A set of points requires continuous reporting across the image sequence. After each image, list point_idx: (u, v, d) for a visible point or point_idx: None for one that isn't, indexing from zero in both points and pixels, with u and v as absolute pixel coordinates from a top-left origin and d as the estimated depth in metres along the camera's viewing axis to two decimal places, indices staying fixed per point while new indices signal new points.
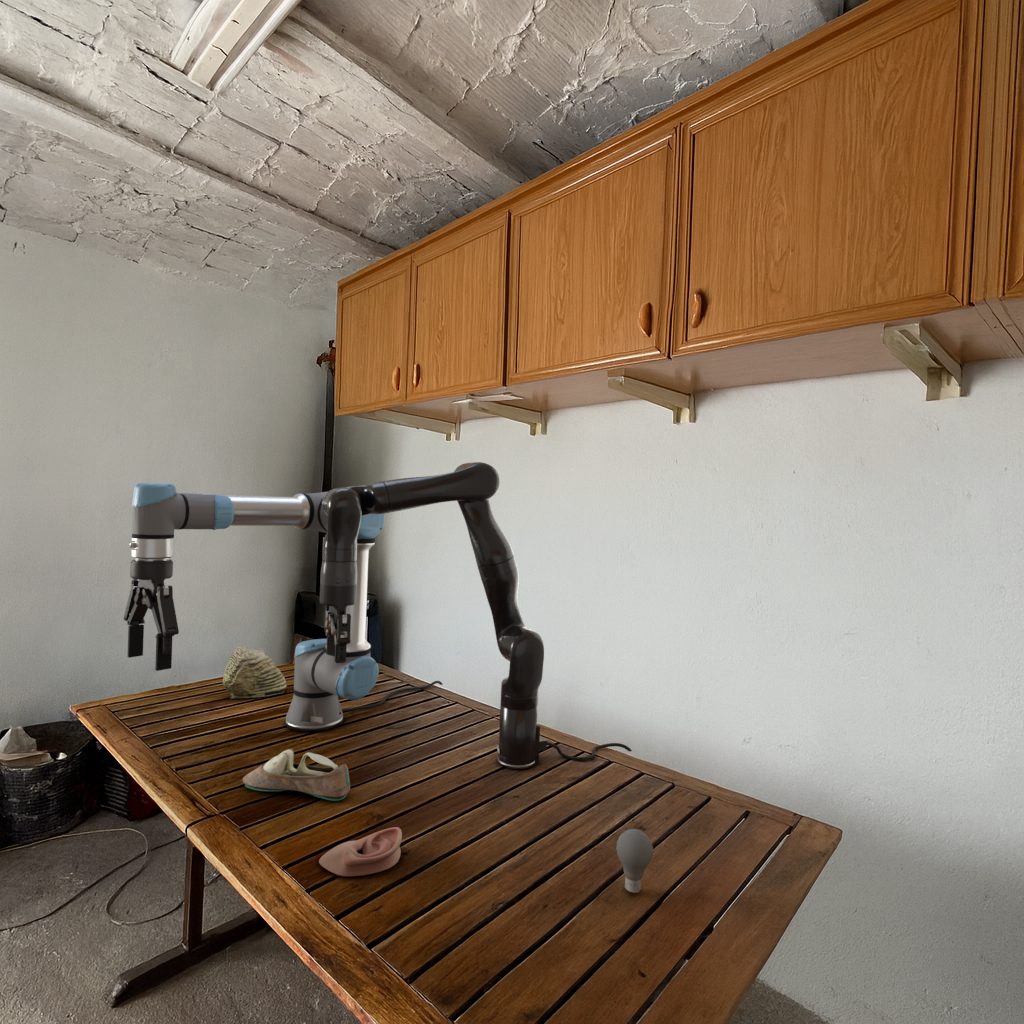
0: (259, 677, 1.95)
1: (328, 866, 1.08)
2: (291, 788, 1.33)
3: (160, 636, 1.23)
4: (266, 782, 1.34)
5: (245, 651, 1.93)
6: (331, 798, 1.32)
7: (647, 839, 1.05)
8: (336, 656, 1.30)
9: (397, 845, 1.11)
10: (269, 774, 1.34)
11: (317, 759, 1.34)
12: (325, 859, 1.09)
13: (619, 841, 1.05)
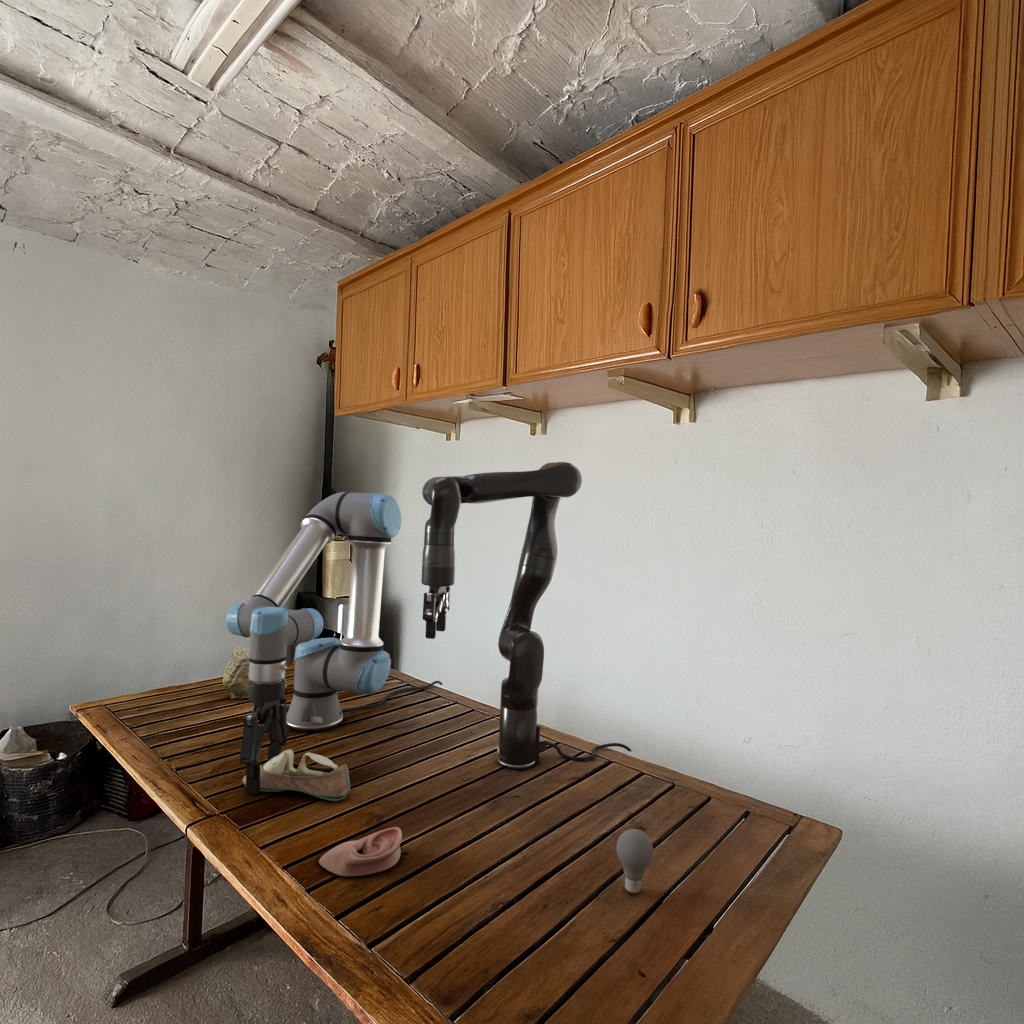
0: None
1: (328, 866, 1.08)
2: (291, 788, 1.33)
3: None
4: (266, 782, 1.33)
5: (245, 651, 1.93)
6: (331, 798, 1.32)
7: (647, 839, 1.05)
8: (426, 631, 1.41)
9: (397, 845, 1.11)
10: (269, 774, 1.34)
11: (317, 759, 1.34)
12: (325, 859, 1.09)
13: (619, 841, 1.05)
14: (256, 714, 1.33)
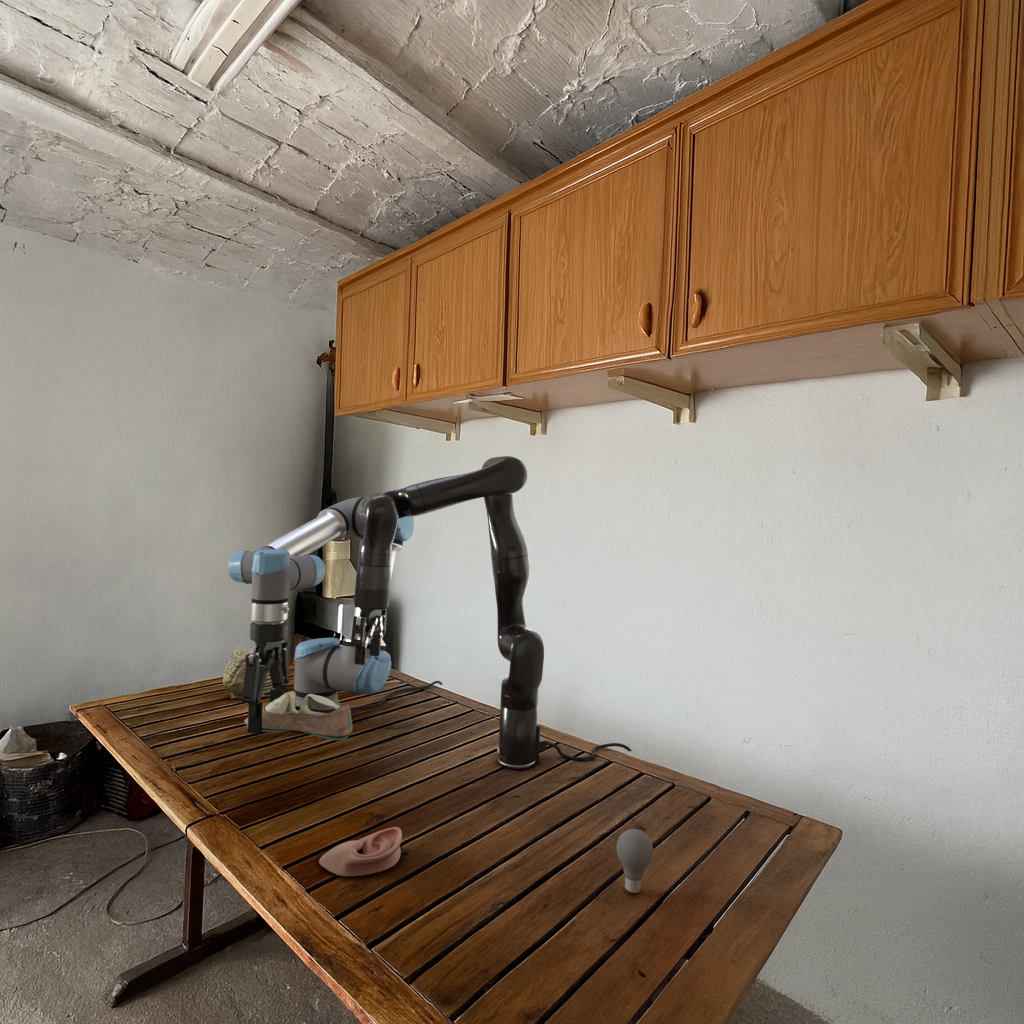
0: None
1: (328, 866, 1.08)
2: (293, 728, 1.33)
3: None
4: (268, 722, 1.33)
5: (245, 651, 1.93)
6: (333, 737, 1.31)
7: (647, 839, 1.05)
8: None
9: (397, 845, 1.11)
10: (271, 714, 1.33)
11: (319, 700, 1.34)
12: (325, 859, 1.09)
13: (619, 841, 1.05)
14: (258, 654, 1.33)
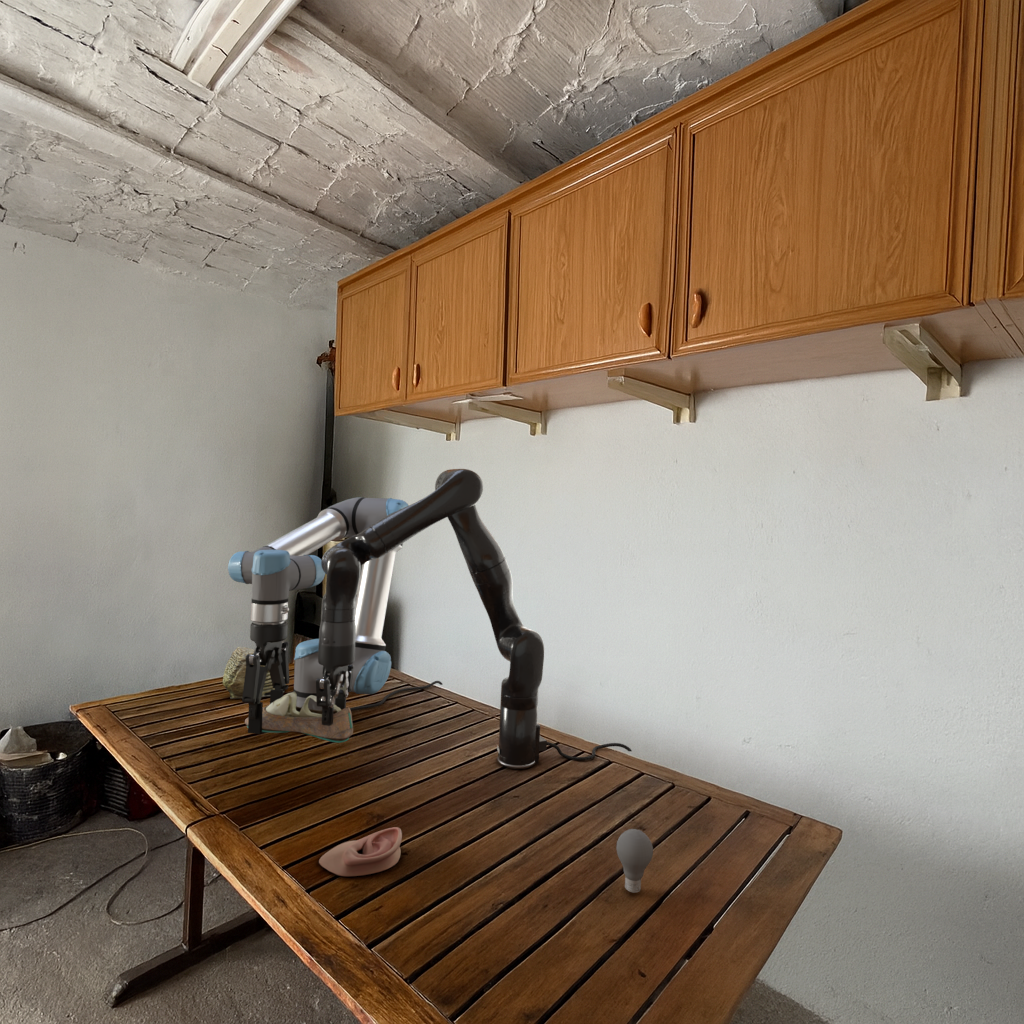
0: None
1: (328, 866, 1.08)
2: (294, 729, 1.33)
3: None
4: (269, 723, 1.33)
5: (245, 651, 1.93)
6: (334, 740, 1.32)
7: (647, 839, 1.05)
8: None
9: (397, 845, 1.11)
10: (272, 715, 1.33)
11: None
12: (325, 859, 1.09)
13: (619, 841, 1.05)
14: (258, 654, 1.33)
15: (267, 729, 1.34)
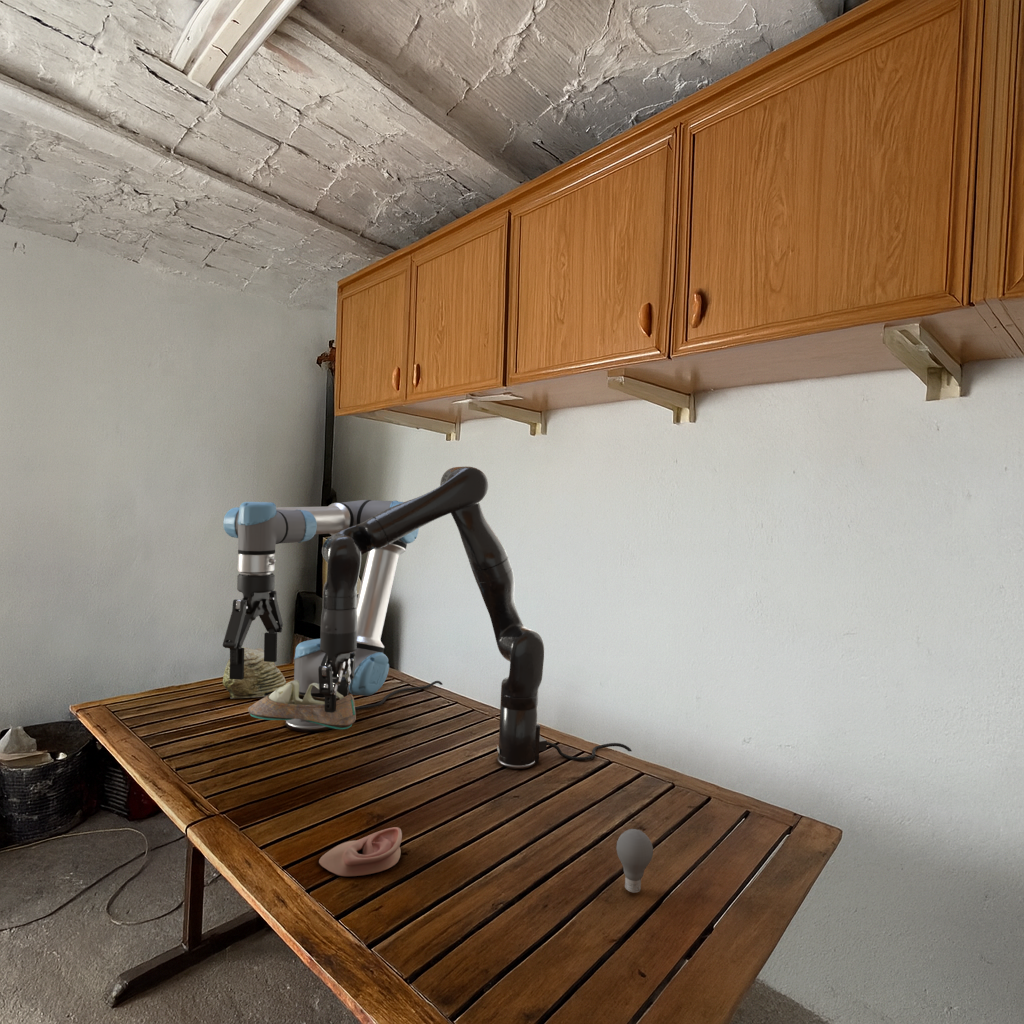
0: (259, 677, 1.95)
1: (328, 866, 1.08)
2: (297, 717, 1.33)
3: None
4: (272, 710, 1.34)
5: (245, 651, 1.93)
6: (337, 726, 1.32)
7: (647, 839, 1.05)
8: None
9: (397, 845, 1.11)
10: (275, 703, 1.34)
11: None
12: (325, 859, 1.09)
13: (619, 841, 1.05)
14: None
15: (270, 717, 1.34)
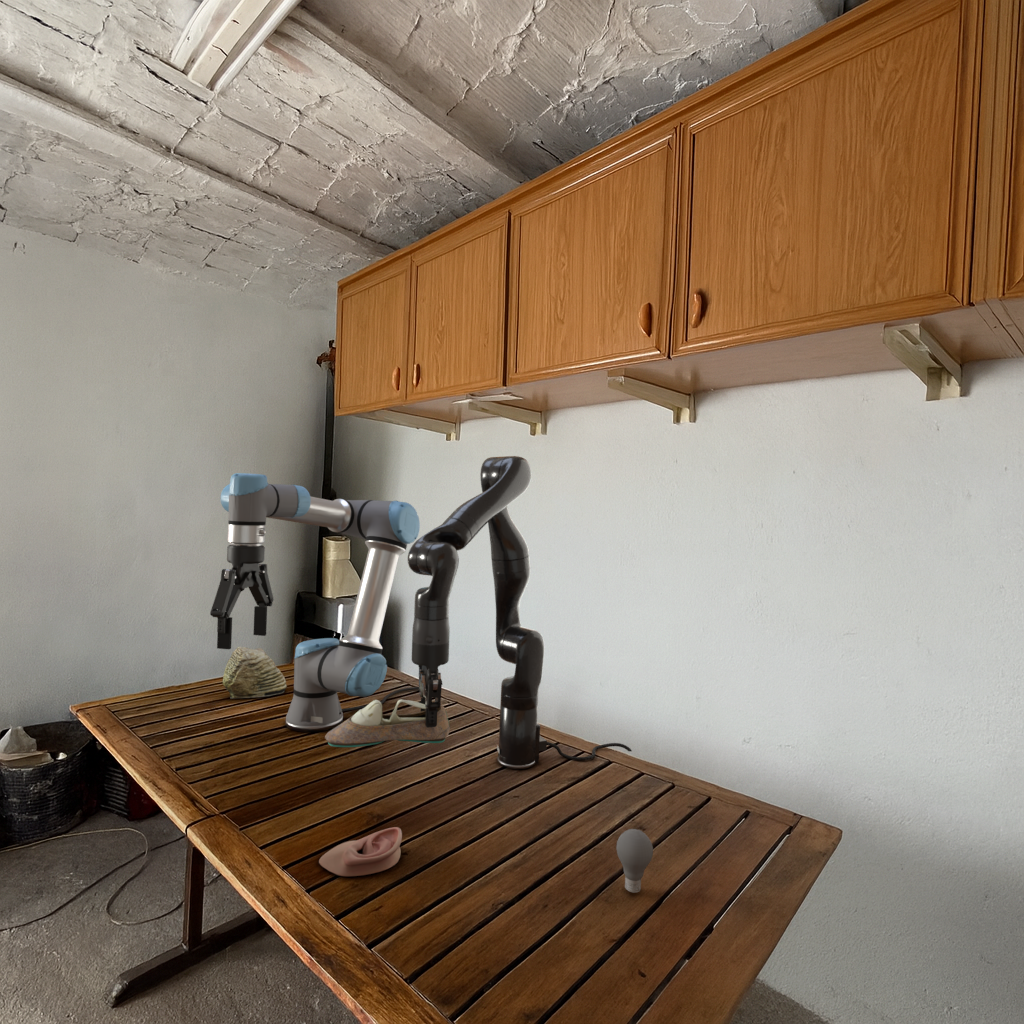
0: (259, 677, 1.95)
1: (328, 866, 1.08)
2: (392, 738, 1.25)
3: None
4: (364, 736, 1.23)
5: (245, 651, 1.93)
6: (437, 740, 1.27)
7: (647, 839, 1.05)
8: (427, 720, 1.26)
9: (397, 845, 1.11)
10: (367, 727, 1.23)
11: (415, 704, 1.28)
12: (325, 859, 1.09)
13: (619, 841, 1.05)
14: None
15: (361, 743, 1.23)
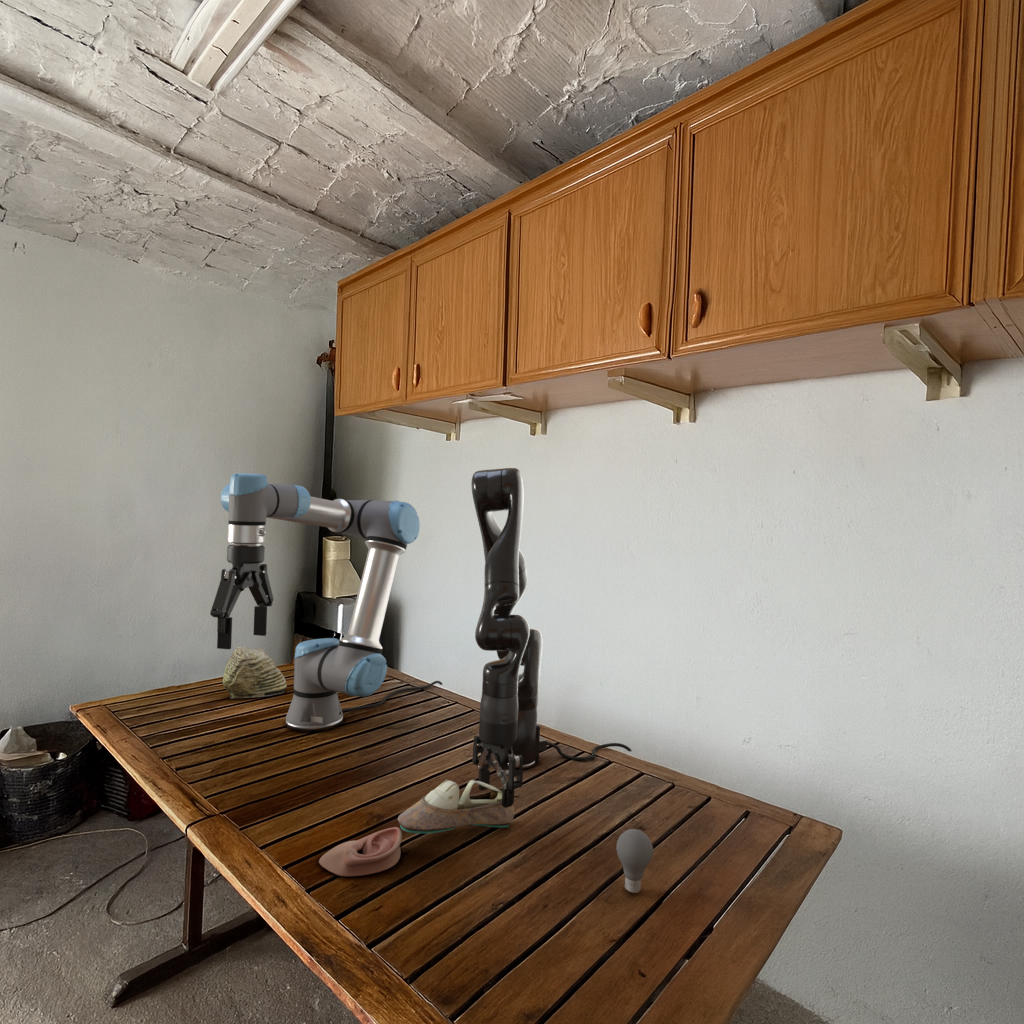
0: (259, 677, 1.95)
1: (328, 866, 1.08)
2: (468, 822, 1.18)
3: None
4: (445, 820, 1.15)
5: (245, 651, 1.93)
6: (505, 825, 1.23)
7: (647, 839, 1.05)
8: (504, 800, 1.21)
9: (397, 845, 1.11)
10: (449, 811, 1.16)
11: (487, 786, 1.23)
12: (325, 859, 1.09)
13: (619, 841, 1.05)
14: None
15: (440, 828, 1.15)
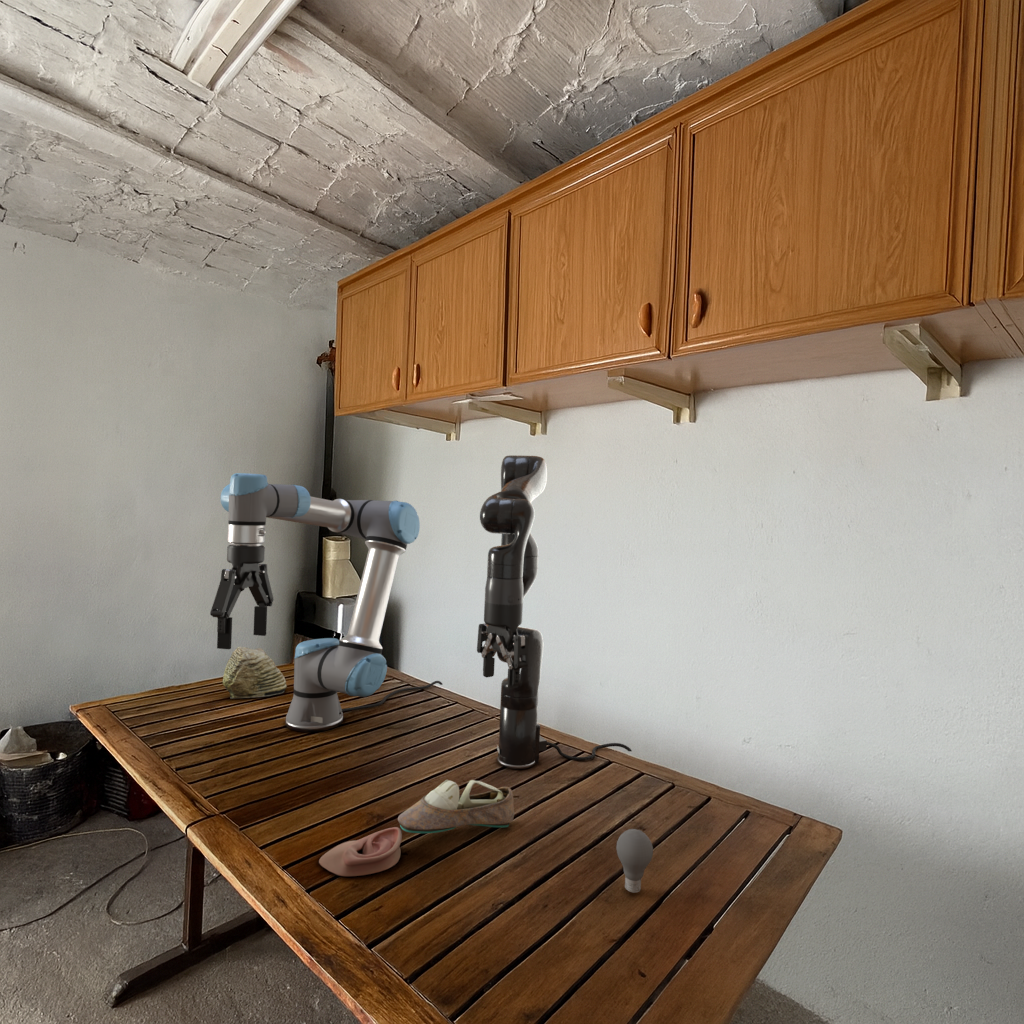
0: (259, 677, 1.95)
1: (328, 866, 1.08)
2: (468, 822, 1.18)
3: None
4: (445, 820, 1.15)
5: (245, 651, 1.93)
6: (505, 825, 1.23)
7: (647, 839, 1.05)
8: (510, 681, 1.20)
9: (397, 845, 1.11)
10: (449, 811, 1.16)
11: (487, 785, 1.23)
12: (325, 859, 1.09)
13: (619, 841, 1.05)
14: None
15: (440, 828, 1.15)
